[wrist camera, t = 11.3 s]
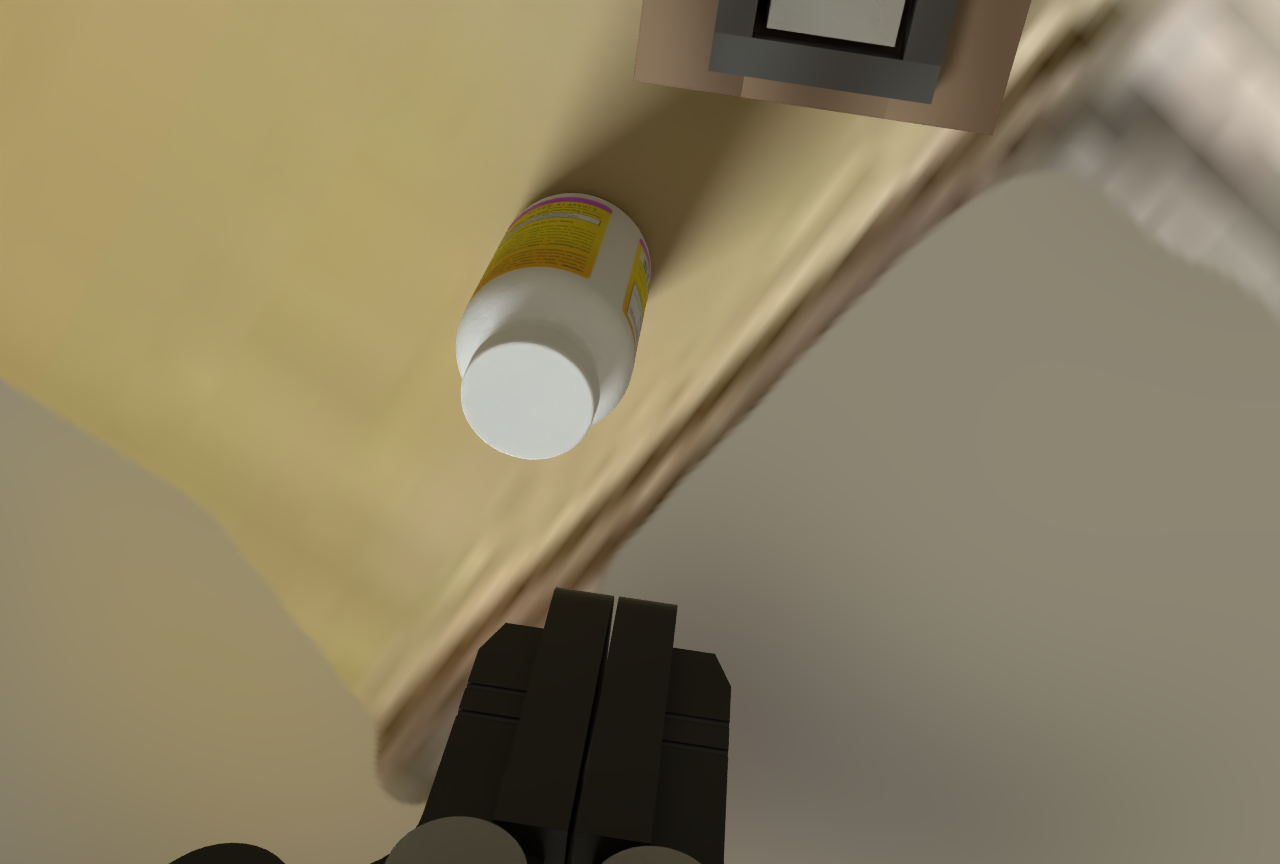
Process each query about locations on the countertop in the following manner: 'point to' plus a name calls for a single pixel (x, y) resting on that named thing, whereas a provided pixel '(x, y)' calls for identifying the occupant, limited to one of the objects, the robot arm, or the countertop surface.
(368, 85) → the countertop surface
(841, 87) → the walnut block
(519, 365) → the supplement bottle
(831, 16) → the grey metal peg
